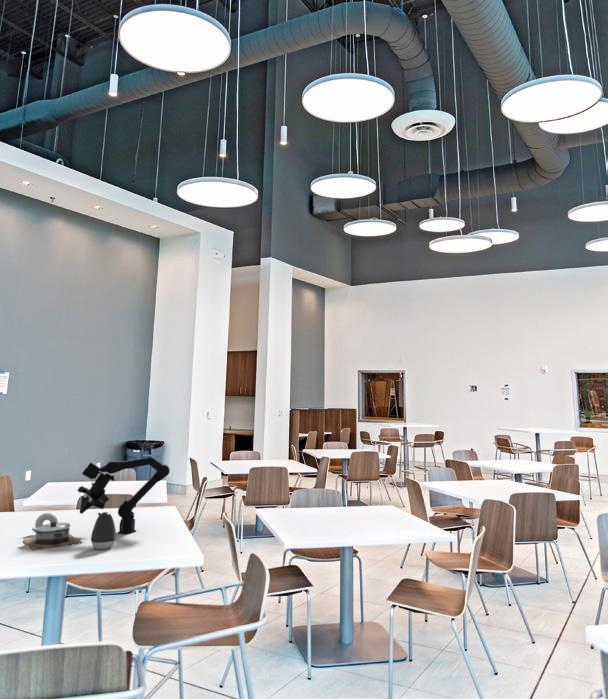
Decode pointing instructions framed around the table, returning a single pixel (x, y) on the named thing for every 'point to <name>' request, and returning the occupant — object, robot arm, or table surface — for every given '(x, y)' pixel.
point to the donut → (44, 517)
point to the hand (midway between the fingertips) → (80, 513)
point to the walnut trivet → (35, 546)
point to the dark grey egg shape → (103, 531)
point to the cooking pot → (52, 537)
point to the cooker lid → (51, 527)
